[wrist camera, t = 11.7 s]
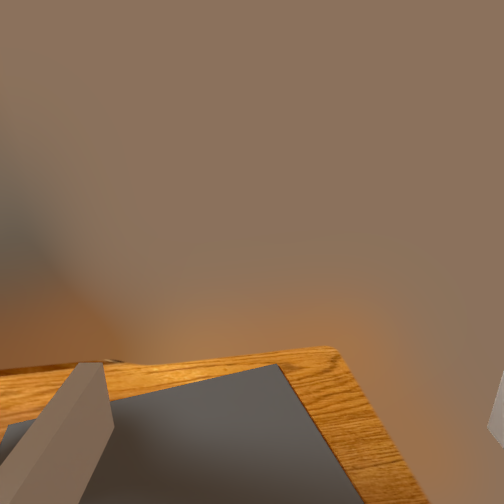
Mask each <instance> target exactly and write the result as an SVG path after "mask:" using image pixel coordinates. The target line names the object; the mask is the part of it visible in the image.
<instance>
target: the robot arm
mask: <svg viewBox="0 0 504 504" xmlns="http://www.w3.org/2000/svg"><path fill="white" fill-rule="evenodd" d="M487 428H488V429H489V431H490V432H491V433H492V434H493V436H494V437H495V438H496V440H497V441H498V442H499V443H500V445H501V446H502V447H503V449H504V372H503V375H502V378H501V382H500V385H499V389H498V393H497V396H496V399H495V402H494V406H493V409H492V413H491V416H490V420H489V423H488V426H487ZM113 430H114V422H113V417H112V412H111V406H110V401H109V395H108V390H107V385H106V379H105V374H104V369H103V363H79V364H78V365H77V366H76V367H75V369H74V370H73V371H72V373H71V374H70V375H69V377H68V378H67V379H66V381H65V382H64V383H63V385H62V386H61V387H60V388H59V390H58V391H57V392H56V394H55V395H54V396H53V398H52V399H51V400H50V402H49V403H48V404H47V405H46V407H45V408H44V409H43V411H42V412H41V413H40V415H39V416H38V417H37V419H36V420H35V421H34V422H33V424H32V425H31V426H30V428H29V429H28V430H27V432H26V433H25V434H24V436H23V437H22V438H21V440H20V441H19V442H18V443H17V445H16V446H15V447H14V449H13V450H12V451H11V453H10V454H9V455H8V457H7V458H6V459H5V460H4V462H3V463H2V464H1V466H0V504H78V503H79V501H80V499H81V497H82V495H83V493H84V491H85V488H86V486H87V484H88V482H89V480H90V478H91V476H92V474H93V472H94V470H95V467H96V465H97V463H98V461H99V459H100V457H101V455H102V453H103V451H104V449H105V446H106V444H107V442H108V440H109V438H110V436H111V434H112V432H113Z"/></svg>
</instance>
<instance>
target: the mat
mask: <svg viewBox="0 0 504 504" xmlns="http://www.w3.org/2000/svg"><path fill="white" fill-rule="evenodd" d="M110 406H111V412H112V417H113V422H114V430H113V432H112V434H111V436H110V438H109V440H108V442H107V444H106V446H105V449H104V451H103V453H102V455H101V457H100V459H99V461H98V463H97V465H96V467H95V470H94V472H93V474H92V476H91V478H90V480H89V482H88V484H87V486H86V488H85V491H84V493H83V495H82V497H81V499H80V501H79V503H78V504H364V502H363V501H362V499H361V498H360V496H359V494H358V493H357V491H356V490H355V488H354V486H353V485H352V483H351V482H350V480H349V479H348V477H347V475H346V474H345V472H344V471H343V469H342V467H341V466H340V464H339V463H338V461H337V459H336V458H335V456H334V455H333V453H332V451H331V450H330V448H329V447H328V445H327V443H326V442H325V440H324V439H323V437H322V436H321V434H320V432H319V431H318V429H317V428H316V426H315V424H314V423H313V421H312V420H311V418H310V416H309V415H308V413H307V412H306V410H305V408H304V407H303V405H302V404H301V402H300V401H299V399H298V397H297V396H296V394H295V393H294V391H293V389H292V388H291V386H290V385H289V383H288V381H287V380H286V378H285V377H284V375H283V373H282V372H281V370H280V369H279V367H278V365H277V364H273V365H269V366H264V367H260V368H256V369H251V370H247V371H242V372H238V373H234V374H229V375H225V376H221V377H216V378H212V379H207V380H203V381H199V382H194V383H190V384H186V385H181V386H177V387H172V388H168V389H164V390H159V391H155V392H151V393H146V394H142V395H138V396H133V397H129V398H124V399H120V400H116V401H111V402H110ZM35 420H36V419H33V420H28V421H24V422H19V423H15V424H11V425H8V428H7V430H6V432H5V435H4V437H3V440H2V442H1V444H0V466H1V464H2V463H3V462H4V460H5V459H6V458H7V457H8V455H9V454H10V453H11V451H12V450H13V449H14V447H15V446H16V445H17V443H18V442H19V441H20V440H21V438H22V437H23V436H24V434H25V433H26V432H27V430H28V429H29V428H30V426H31V425H32V424H33V422H34V421H35Z"/></svg>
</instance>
